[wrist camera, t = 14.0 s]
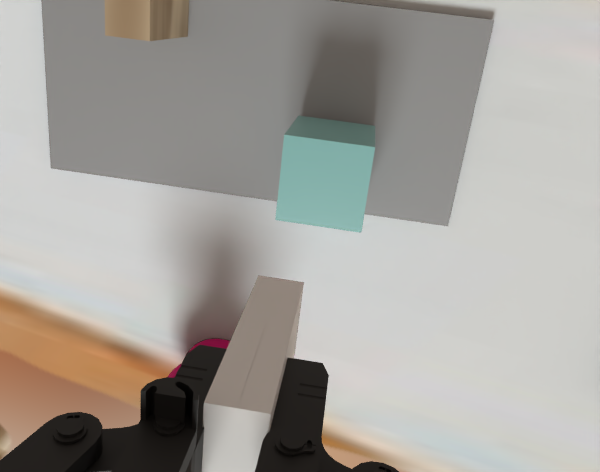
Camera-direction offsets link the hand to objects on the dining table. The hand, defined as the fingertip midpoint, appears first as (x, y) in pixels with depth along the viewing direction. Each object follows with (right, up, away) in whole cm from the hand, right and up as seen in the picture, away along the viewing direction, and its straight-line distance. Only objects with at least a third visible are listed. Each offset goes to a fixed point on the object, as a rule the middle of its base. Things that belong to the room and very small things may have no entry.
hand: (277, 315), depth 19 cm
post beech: (-8, +17, +19) cm, 27 cm away
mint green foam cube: (+3, +8, +20) cm, 22 cm away
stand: (-3, +12, +21) cm, 24 cm away
